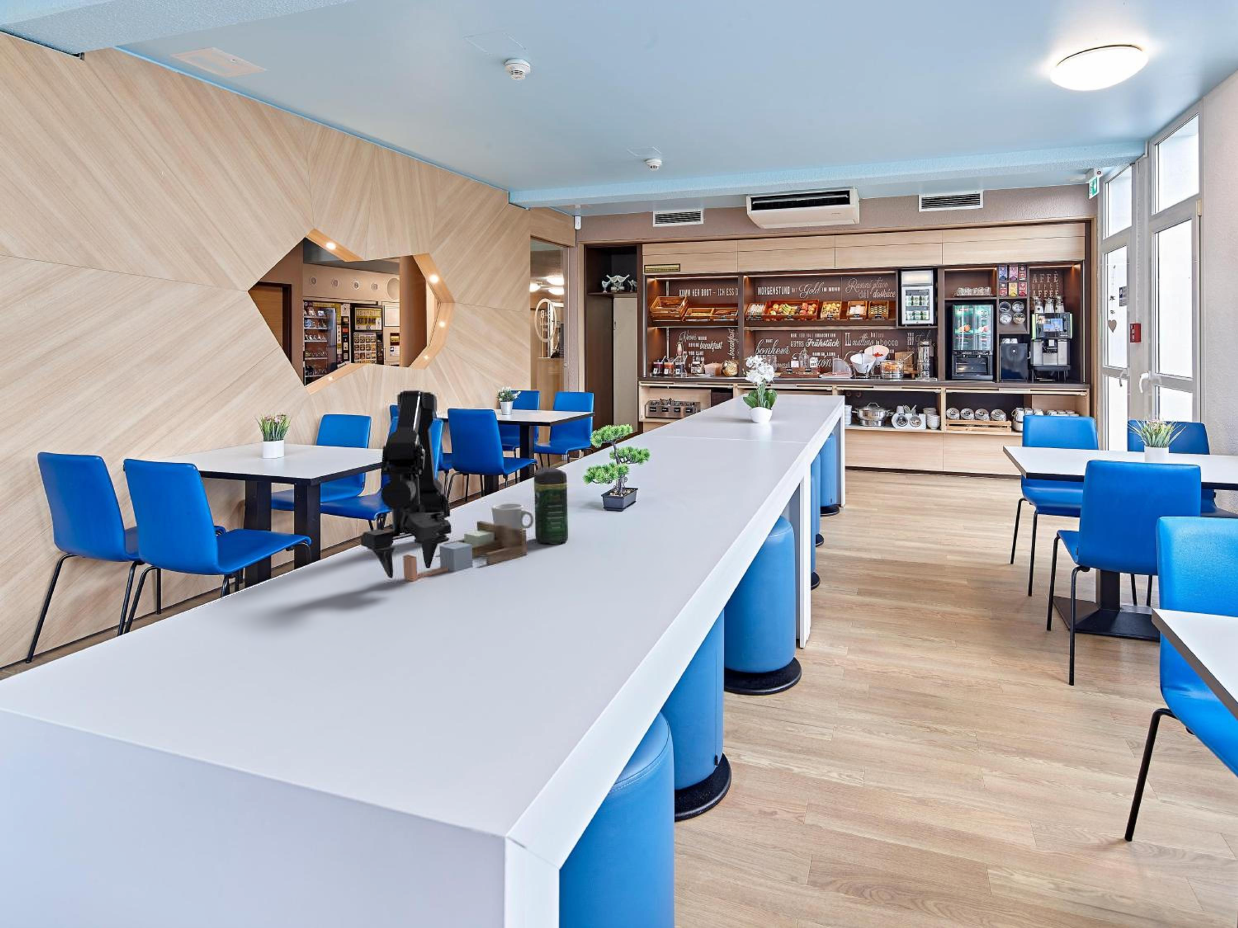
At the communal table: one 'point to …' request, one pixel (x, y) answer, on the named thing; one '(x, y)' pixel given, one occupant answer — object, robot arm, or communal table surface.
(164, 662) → the communal table surface
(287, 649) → the communal table surface
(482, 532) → the green block
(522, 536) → the lane rack
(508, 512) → the cup
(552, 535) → the coffee jar
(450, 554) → the wooden bar with block
